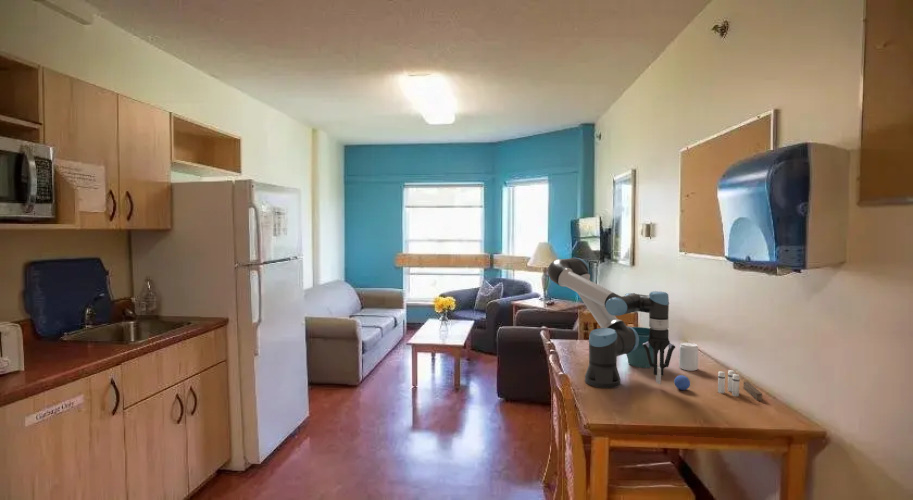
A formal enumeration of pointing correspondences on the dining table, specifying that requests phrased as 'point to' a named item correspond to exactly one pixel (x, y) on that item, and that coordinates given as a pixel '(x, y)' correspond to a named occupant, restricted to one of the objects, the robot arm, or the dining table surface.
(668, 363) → the robot arm
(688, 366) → the beverage can
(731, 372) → the pin
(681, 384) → the ball
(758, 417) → the dining table surface
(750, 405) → the dining table surface
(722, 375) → the front pin
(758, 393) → the wall
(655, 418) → the dining table surface
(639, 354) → the flower pot
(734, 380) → the pin
